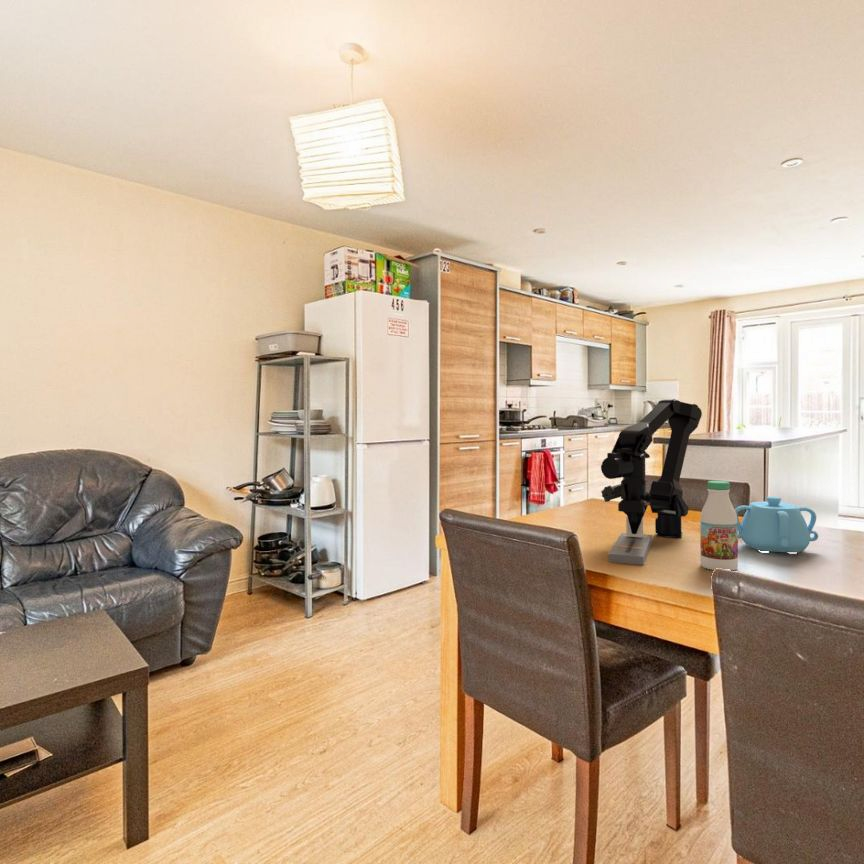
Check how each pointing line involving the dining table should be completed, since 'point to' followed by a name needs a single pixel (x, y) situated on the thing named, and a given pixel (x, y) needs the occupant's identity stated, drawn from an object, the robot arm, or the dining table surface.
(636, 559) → the console
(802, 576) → the dining table surface
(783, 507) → the decorative pot
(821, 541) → the dining table surface
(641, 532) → the fader cap
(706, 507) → the milk bottle
